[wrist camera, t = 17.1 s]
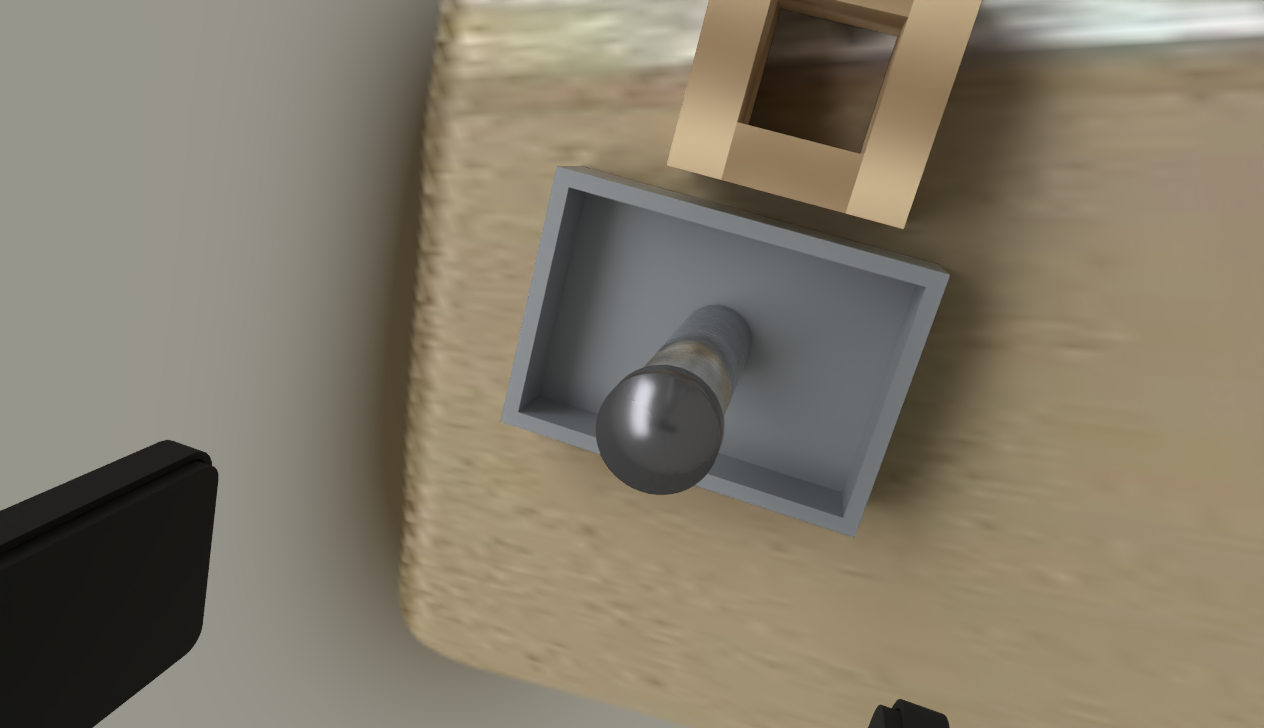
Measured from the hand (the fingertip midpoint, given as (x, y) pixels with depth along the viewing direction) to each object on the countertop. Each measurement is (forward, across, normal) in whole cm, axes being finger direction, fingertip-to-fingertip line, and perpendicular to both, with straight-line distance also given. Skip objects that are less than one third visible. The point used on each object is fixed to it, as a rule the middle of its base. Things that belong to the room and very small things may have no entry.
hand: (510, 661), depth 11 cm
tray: (+23, 0, +1) cm, 23 cm away
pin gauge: (+22, 0, +1) cm, 23 cm away
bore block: (+23, -1, -9) cm, 25 cm away
